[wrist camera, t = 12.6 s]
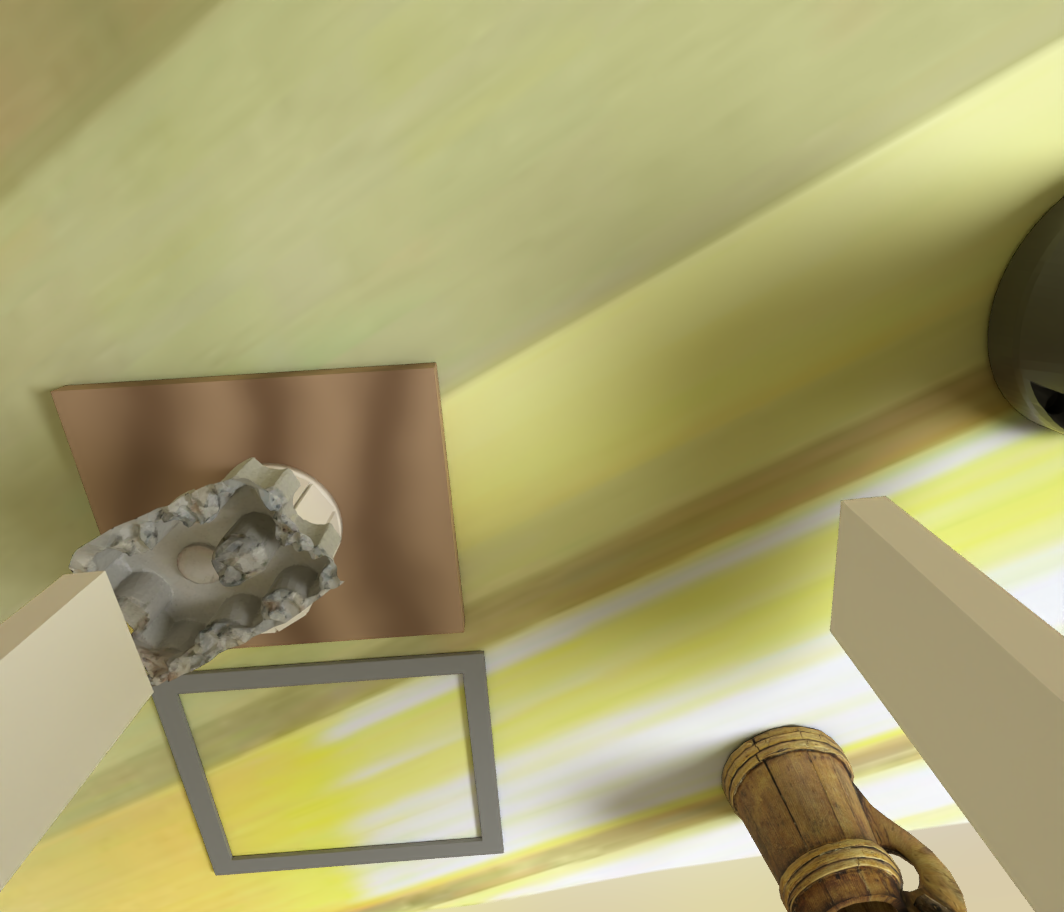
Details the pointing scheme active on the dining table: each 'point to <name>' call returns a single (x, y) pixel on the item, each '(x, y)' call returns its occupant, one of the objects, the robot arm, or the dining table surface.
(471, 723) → the mat border
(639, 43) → the dining table surface
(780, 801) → the wooden mug
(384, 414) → the walnut board
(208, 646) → the egg carton
